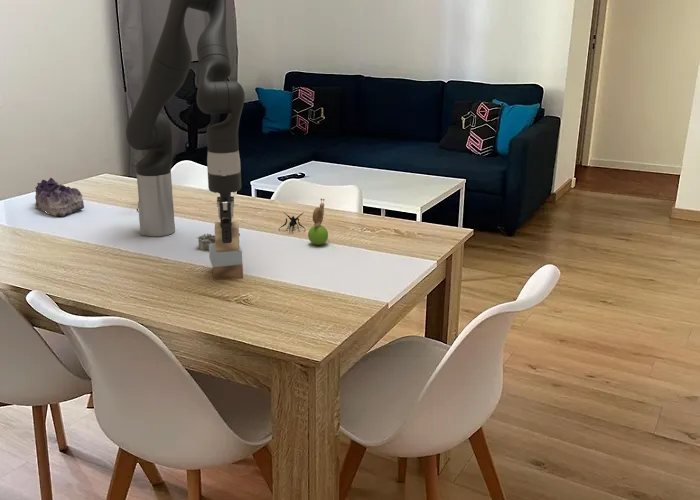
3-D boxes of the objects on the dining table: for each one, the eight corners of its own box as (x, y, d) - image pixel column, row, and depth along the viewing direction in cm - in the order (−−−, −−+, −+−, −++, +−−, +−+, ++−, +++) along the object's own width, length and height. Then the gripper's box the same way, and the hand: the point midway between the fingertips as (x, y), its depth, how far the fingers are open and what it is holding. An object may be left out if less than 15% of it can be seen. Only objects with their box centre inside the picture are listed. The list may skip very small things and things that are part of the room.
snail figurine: (332, 241, 199) (332, 199, 196) (323, 248, 194) (323, 205, 190) (313, 239, 201) (313, 197, 197) (305, 246, 195) (304, 203, 191)
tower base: (213, 280, 172) (212, 266, 170) (213, 270, 178) (212, 256, 177) (243, 279, 173) (242, 265, 172) (242, 268, 179) (241, 255, 178)
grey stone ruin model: (242, 247, 195) (242, 233, 194) (227, 255, 189) (227, 240, 187) (210, 241, 199) (209, 228, 198) (194, 249, 192) (193, 235, 191)
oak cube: (215, 251, 170) (214, 229, 168) (216, 244, 175) (215, 222, 174) (239, 250, 171) (238, 228, 169) (239, 243, 176) (238, 221, 174)
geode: (21, 208, 229) (20, 176, 227) (56, 206, 237) (55, 175, 235) (53, 218, 216) (52, 184, 214) (89, 215, 225) (89, 183, 223)
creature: (304, 238, 206) (307, 224, 213) (304, 221, 203) (306, 208, 210) (277, 237, 206) (281, 223, 213) (276, 221, 204) (280, 208, 210)
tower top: (212, 267, 170) (211, 253, 169) (209, 257, 177) (208, 243, 175) (242, 264, 172) (241, 250, 171) (238, 255, 178) (237, 241, 177)
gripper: (208, 163, 173) (212, 228, 178) (206, 177, 160) (210, 247, 165) (240, 163, 174) (242, 227, 179) (240, 176, 161) (243, 246, 166)
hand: (227, 237), depth 172 cm, fingers open, 8 cm apart
